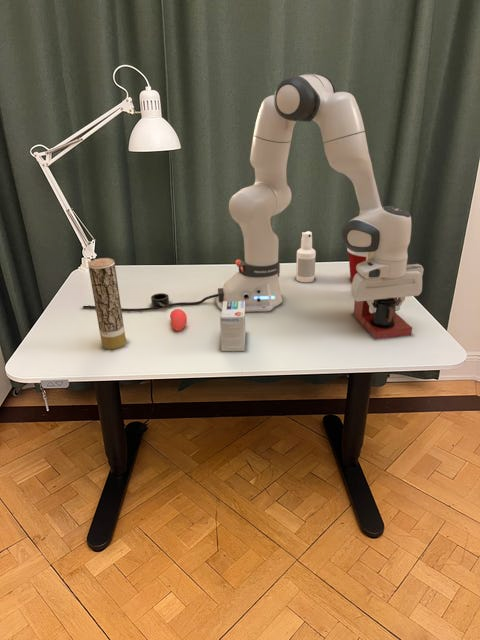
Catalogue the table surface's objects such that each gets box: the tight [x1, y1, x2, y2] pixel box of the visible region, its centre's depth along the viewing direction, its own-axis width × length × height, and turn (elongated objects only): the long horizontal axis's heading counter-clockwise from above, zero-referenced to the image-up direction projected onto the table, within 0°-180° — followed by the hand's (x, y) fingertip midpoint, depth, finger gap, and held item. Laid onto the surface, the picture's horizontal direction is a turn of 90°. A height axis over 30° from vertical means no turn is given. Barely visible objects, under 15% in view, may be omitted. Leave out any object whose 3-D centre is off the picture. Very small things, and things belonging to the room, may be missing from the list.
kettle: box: [373, 298, 395, 327], centre depth 140 cm, size 6×9×8 cm, turn 10°
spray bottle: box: [295, 230, 317, 283], centre depth 177 cm, size 7×7×18 cm
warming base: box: [360, 300, 413, 340], centre depth 142 cm, size 11×10×11 cm
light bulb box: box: [219, 301, 246, 352], centre depth 136 cm, size 11×7×11 cm, turn 178°
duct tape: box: [150, 292, 170, 308], centre depth 162 cm, size 8×10×3 cm
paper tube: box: [87, 257, 127, 350], centre depth 134 cm, size 7×7×25 cm
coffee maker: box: [353, 298, 398, 324], centre depth 148 cm, size 12×6×14 cm, turn 100°
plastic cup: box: [346, 247, 367, 283], centre depth 176 cm, size 11×11×12 cm
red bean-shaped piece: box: [169, 308, 188, 331], centre depth 148 cm, size 5×9×6 cm
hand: (384, 311), depth 140 cm, fingers open, 6 cm apart
